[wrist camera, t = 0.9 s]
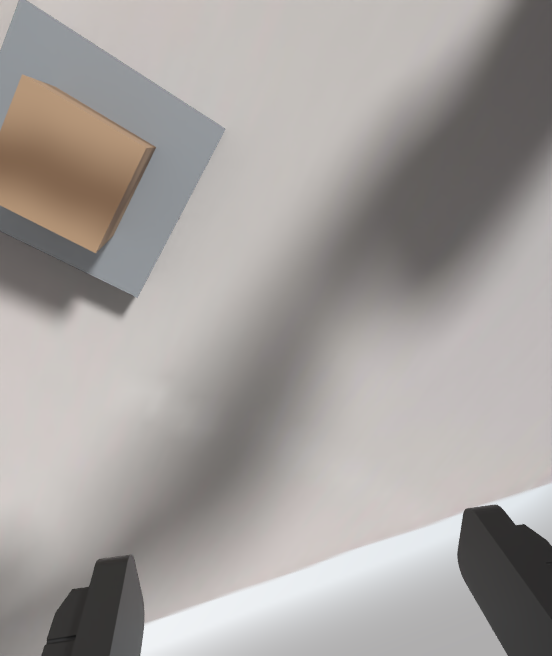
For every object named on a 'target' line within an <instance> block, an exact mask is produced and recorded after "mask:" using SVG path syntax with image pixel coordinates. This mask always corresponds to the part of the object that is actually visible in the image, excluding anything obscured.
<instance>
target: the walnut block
mask: <svg viewBox="0 0 552 656" xmlns="http://www.w3.org/2000/svg"><path fill="white" fill-rule="evenodd" d="M155 149H156V147H155V146H153V145H152V144H150V143H148V142H147V141H145V140H143V139H142V138H140V137H138V136H137V135H135V134H133V133H132V132H130V131H128V130H127V129H125V128H123V127H122V126H120V125H118V124H117V123H115V122H113V121H112V120H110V119H108V118H107V117H105V116H103V115H102V114H100V113H98V112H97V111H95V110H93V109H92V108H90V107H88V106H87V105H85V104H83V103H82V102H80V101H78V100H77V99H75V98H73V97H72V96H70V95H68V94H67V93H65V92H63V91H62V90H60V89H58V88H57V87H55V86H52V85H49V84H47V83H44V82H41V81H39V80H36V79H33V78H31V77H28V76H25V75H23V74H22V76H21V79H20V81H19V84H18V86H17V89H16V91H15V94H14V97H13V99H12V102H11V104H10V107H9V109H8V112H7V115H6V117H5V120H4V122H3V125H2V127H1V130H0V206H2V207H4V208H6V209H8V210H10V211H12V212H14V213H16V214H18V215H20V216H22V217H24V218H26V219H28V220H30V221H32V222H34V223H36V224H38V225H40V226H42V227H44V228H46V229H48V230H50V231H52V232H54V233H56V234H58V235H60V236H62V237H64V238H66V239H68V240H70V241H72V242H74V243H76V244H78V245H80V246H82V247H84V248H86V249H88V250H90V251H92V252H94V253H96V252H97V251H98V250H99V249H100V248H101V247H103V246H104V245H105V244H106V243H107V242H108V241H109V240H110V239H111V238H112V237H113V235H114V233H115V231H116V229H117V227H118V225H119V223H120V221H121V219H122V217H123V215H124V213H125V211H126V209H127V207H128V205H129V202H130V200H131V198H132V196H133V194H134V192H135V190H136V188H137V186H138V184H139V182H140V180H141V178H142V176H143V174H144V172H145V170H146V167H147V165H148V163H149V161H150V159H151V157H152V155H153V153H154V151H155Z"/></svg>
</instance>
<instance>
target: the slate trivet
mask: <svg viewBox="0 0 552 656" xmlns="http://www.w3.org/2000/svg"><path fill="white" fill-rule="evenodd" d="M22 74H23V75H25V76H28V77H31V78H33V79H36V80H39V81H41V82H44V83H47V84H49V85H52V86H55V87H57V88H58V89H60V90H62V91H63V92H65V93H67V94H68V95H70V96H72V97H73V98H75V99H77V100H78V101H80V102H82V103H83V104H85V105H87V106H88V107H90V108H92V109H93V110H95V111H97V112H98V113H100V114H102V115H103V116H105V117H107V118H108V119H110V120H112V121H113V122H115V123H117V124H118V125H120V126H122V127H123V128H125V129H127V130H128V131H130V132H132V133H133V134H135V135H137V136H138V137H140V138H142V139H143V140H145V141H147V142H148V143H150V144H152V145H153V146H155V147H156V149H155V151H154V153H153V155H152V157H151V159H150V161H149V163H148V165H147V167H146V170H145V172H144V174H143V176H142V178H141V180H140V182H139V184H138V186H137V188H136V190H135V192H134V194H133V196H132V198H131V200H130V202H129V205H128V207H127V209H126V211H125V213H124V215H123V217H122V219H121V221H120V223H119V225H118V227H117V229H116V231H115V233H114V235H113V237H112V238H111V239H110V240H109V241H108V242H107V243H106V244H105V245H104V246H103V247H101V248H100V249H99V250H98V251H97V252H96V253H94V252H92V251H90V250H88V249H86V248H84V247H82V246H80V245H78V244H76V243H74V242H72V241H70V240H68V239H66V238H64V237H62V236H60V235H58V234H56V233H54V232H52V231H50V230H48V229H46V228H44V227H42V226H40V225H38V224H36V223H34V222H32V221H30V220H28V219H26V218H24V217H22V216H20V215H18V214H16V213H14V212H12V211H10V210H8V209H6V208H4V207H2V206H0V231H1V232H3V233H5V234H7V235H9V236H11V237H13V238H15V239H17V240H19V241H21V242H24V243H26V244H28V245H30V246H32V247H34V248H36V249H38V250H40V251H42V252H44V253H46V254H48V255H50V256H52V257H54V258H57V259H59V260H61V261H63V262H65V263H67V264H69V265H71V266H73V267H75V268H77V269H79V270H81V271H83V272H85V273H87V274H89V275H92V276H94V277H96V278H98V279H100V280H102V281H104V282H106V283H108V284H110V285H112V286H114V287H116V288H118V289H120V290H122V291H125V292H127V293H129V294H131V295H133V296H135V297H137V298H138V296H139V294H140V292H141V290H142V288H143V286H144V284H145V282H146V281H147V279H148V277H149V275H150V273H151V271H152V269H153V267H154V265H155V263H156V261H157V259H158V258H159V256H160V254H161V252H162V250H163V248H164V246H165V244H166V242H167V240H168V238H169V236H170V235H171V233H172V231H173V229H174V227H175V225H176V223H177V221H178V219H179V217H180V215H181V213H182V212H183V210H184V208H185V206H186V204H187V202H188V200H189V198H190V196H191V194H192V192H193V190H194V189H195V187H196V185H197V183H198V181H199V179H200V177H201V175H202V173H203V171H204V169H205V167H206V165H207V164H208V162H209V160H210V158H211V156H212V154H213V152H214V150H215V148H216V146H217V144H218V142H219V141H220V139H221V137H222V135H223V133H224V131H225V128H224V127H222V126H220V125H219V124H217V123H216V122H214V121H213V120H211V119H210V118H208V117H206V116H205V115H203V114H202V113H200V112H199V111H197V110H196V109H194V108H192V107H191V106H189V105H188V104H186V103H185V102H183V101H182V100H180V99H179V98H177V97H175V96H174V95H172V94H171V93H169V92H168V91H166V90H165V89H163V88H161V87H160V86H158V85H157V84H155V83H154V82H152V81H151V80H149V79H148V78H146V77H144V76H143V75H141V74H140V73H138V72H137V71H135V70H134V69H132V68H130V67H129V66H127V65H126V64H124V63H123V62H121V61H120V60H118V59H117V58H115V57H113V56H112V55H110V54H109V53H107V52H106V51H104V50H103V49H101V48H99V47H98V46H96V45H95V44H93V43H92V42H90V41H89V40H87V39H86V38H84V37H82V36H81V35H79V34H78V33H76V32H75V31H73V30H72V29H70V28H68V27H67V26H65V25H64V24H62V23H61V22H59V21H58V20H56V19H54V18H53V17H51V16H50V15H48V14H47V13H45V12H44V11H42V10H41V9H39V8H37V7H36V6H34V5H33V4H31V3H30V2H28V1H27V0H19V2H18V5H17V7H16V10H15V13H14V15H13V18H12V21H11V23H10V26H9V29H8V31H7V34H6V37H5V40H4V42H3V45H2V48H1V50H0V130H1V127H2V125H3V122H4V120H5V117H6V115H7V112H8V109H9V107H10V104H11V102H12V99H13V97H14V94H15V91H16V89H17V86H18V84H19V81H20V79H21V76H22Z"/></svg>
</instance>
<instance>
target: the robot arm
mask: <svg viewBox="0 0 552 656" xmlns="http://www.w3.org/2000/svg"><path fill="white" fill-rule="evenodd" d="M457 555H458V564H459V568H460V571H461V574H462V577H463V579H464V581H465V582H466V584H467V586H468V588H469V589H470V591H471V593H472V595H473V596H474V598H475V600H476V601H477V603H478V605H479V606H480V608H481V610H482V612H483V613H484V615H485V617H486V619H487V620H488V622H489V624H490V625H491V627H492V629H493V631H494V632H495V634H496V636H497V638H498V639H499V641H500V643H501V645H502V646H503V648H504V650H505V651H506V653H507V655H508V656H552V546H551V545H550V544H549V542H548V541H547V540H546V539H544V538H543V537H541V536H540V535H539V534H537V533H536V532H534V531H533V530H532V529H530V528H529V527H527V526H526V525H524V524H523V525H515V524H514V523H513V521H512V520H511V519H510V518H509V516H508V515H507V514H506V512H505V511H504V510H503V509H502V508H501V507H500V506H498V505H488V506H481V507H474V508H467V509H465V511H464V513H463V519H462V526H461V533H460V539H459V546H458V554H457ZM143 630H144V602H143V596H142V592H141V587H140V583H139V578H138V574H137V569H136V565H135V560H134V557H133V555H125V556H118V557H111V558H104V559H99V560H97V562H96V564H95V567H94V571H93V575H92V579H91V582H90V586H89V587H85V588H78V589H72V591H71V592H70V593H69V595H68V596H67V598H66V599H65V600H64V602H63V603H62V605H61V606H60V607H59V609H58V610H57V611H56V613H55V616H54V619H53V622H52V625H51V628H50V631H49V634H48V637H47V644H46V645H45V646H44V649H43V653H42V656H140V653H141V646H142V638H143Z"/></svg>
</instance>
